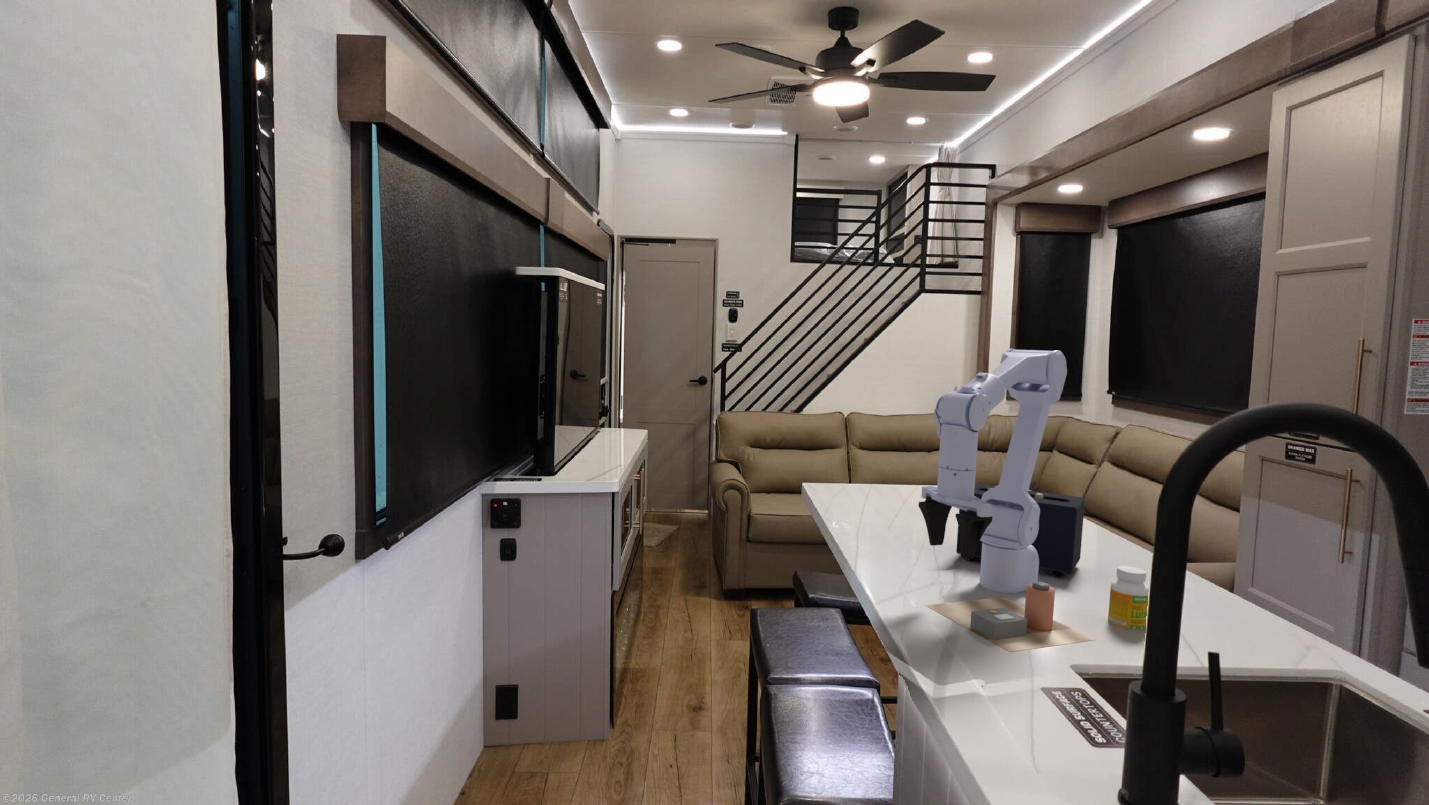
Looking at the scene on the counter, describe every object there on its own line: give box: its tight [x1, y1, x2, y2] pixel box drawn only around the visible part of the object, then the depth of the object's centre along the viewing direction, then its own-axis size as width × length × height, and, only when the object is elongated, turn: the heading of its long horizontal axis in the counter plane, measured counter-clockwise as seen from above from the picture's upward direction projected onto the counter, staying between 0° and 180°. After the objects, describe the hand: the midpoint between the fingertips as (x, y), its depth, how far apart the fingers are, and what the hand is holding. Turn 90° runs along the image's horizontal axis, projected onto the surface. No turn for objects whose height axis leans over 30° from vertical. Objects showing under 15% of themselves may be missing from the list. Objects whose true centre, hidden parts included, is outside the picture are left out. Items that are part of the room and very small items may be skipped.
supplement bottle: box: [1107, 565, 1150, 630], centre depth 118 cm, size 5×5×10 cm
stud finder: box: [970, 608, 1027, 640], centre depth 112 cm, size 6×5×3 cm
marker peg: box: [1024, 581, 1056, 632], centre depth 115 cm, size 4×4×7 cm
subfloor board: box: [925, 596, 1097, 653], centre depth 116 cm, size 16×19×1 cm
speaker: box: [955, 483, 1086, 578], centre depth 153 cm, size 22×13×15 cm, turn 58°
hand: (951, 551), depth 121 cm, fingers open, 7 cm apart
